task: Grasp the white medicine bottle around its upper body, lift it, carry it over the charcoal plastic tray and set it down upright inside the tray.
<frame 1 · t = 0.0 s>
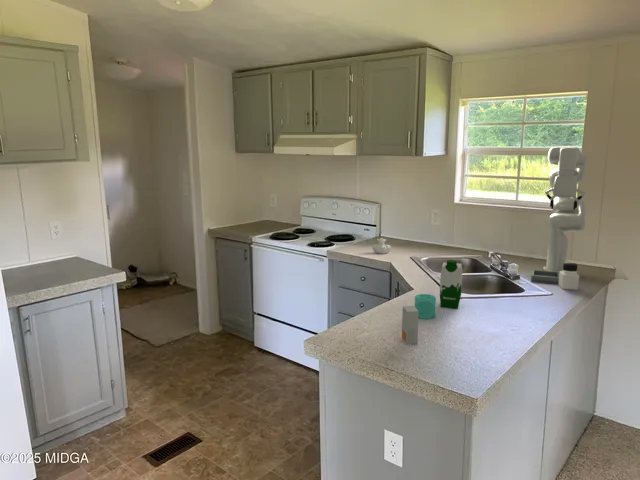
hand: (563, 208, 236), 37 cm above the worktop, tool pointing down, fingers open, 9 cm apart
medicine bottle: (568, 287, 233), on the worktop
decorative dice: (424, 316, 195), on the worktop
tray: (545, 279, 247), on the worktop
skincare box: (409, 341, 169), on the worktop
milk carton: (449, 306, 207), on the worktop
white lobed vase: (381, 253, 308), on the worktop
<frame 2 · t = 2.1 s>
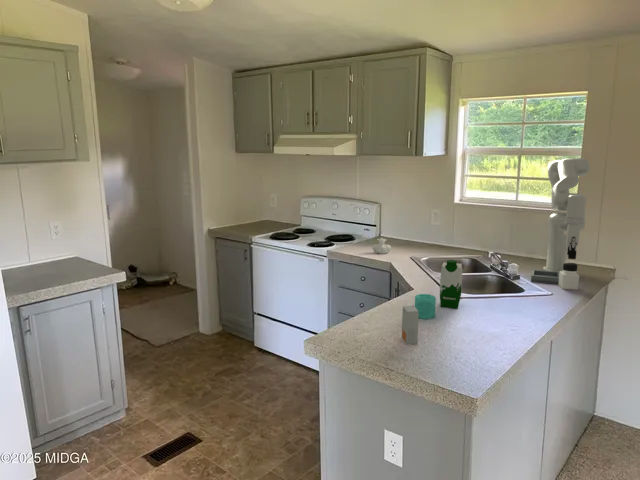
hand: (571, 257, 230), 15 cm above the worktop, tool pointing down, fingers open, 9 cm apart
nothing on the worktop moved.
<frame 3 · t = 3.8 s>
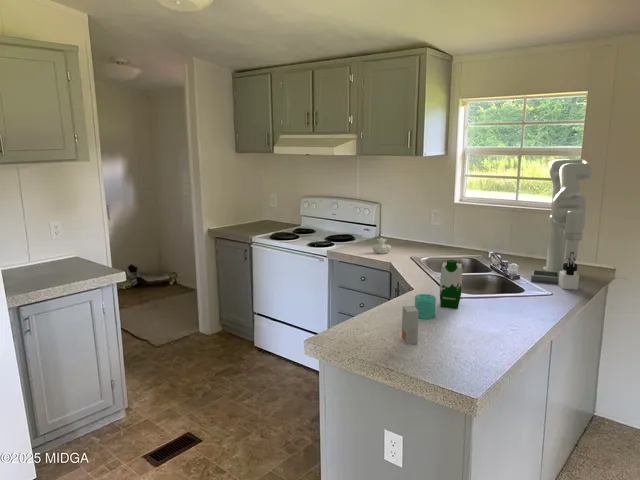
hand: (569, 272, 232), 7 cm above the worktop, tool pointing down, fingers closed on medicine bottle, 7 cm apart
medicine bottle: (568, 287, 233), on the worktop, touching gripper
everything else where it was.
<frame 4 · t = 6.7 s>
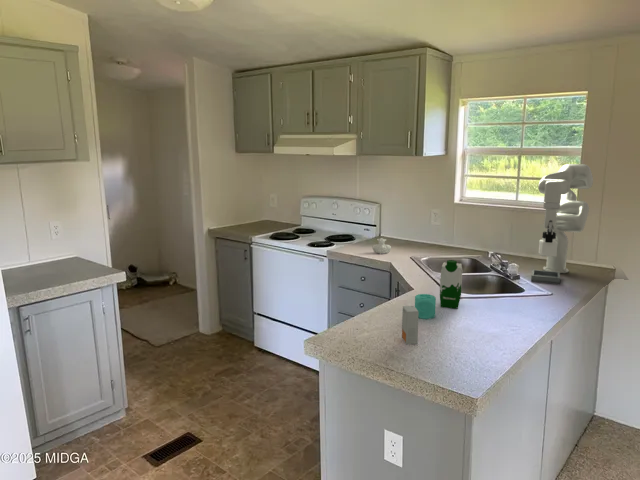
hand: (548, 240, 243), 20 cm above the worktop, tool pointing down, fingers closed on medicine bottle, 7 cm apart
medicine bottle: (547, 255, 245), point 13 cm above the worktop, touching gripper
everything else where it was.
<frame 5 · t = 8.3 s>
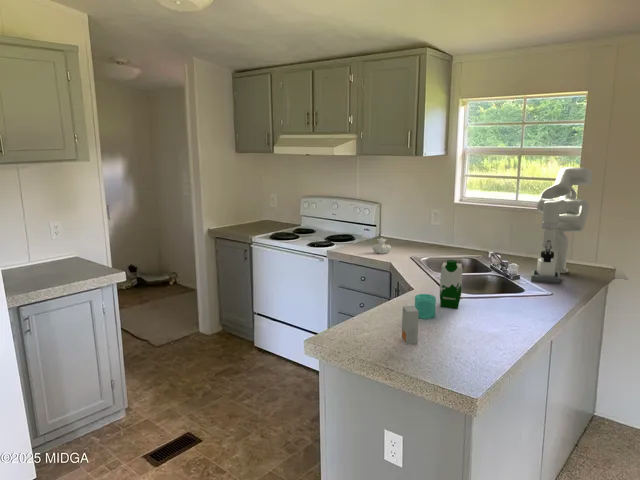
hand: (547, 260, 245), 10 cm above the worktop, tool pointing down, fingers closed on medicine bottle, 7 cm apart
medicine bottle: (545, 274, 247), point 3 cm above the worktop, touching gripper
everything else where it was.
when the fingers open (10 cm above the worktop, at t = 9.4 s): medicine bottle drops 1 cm, resting on tray.
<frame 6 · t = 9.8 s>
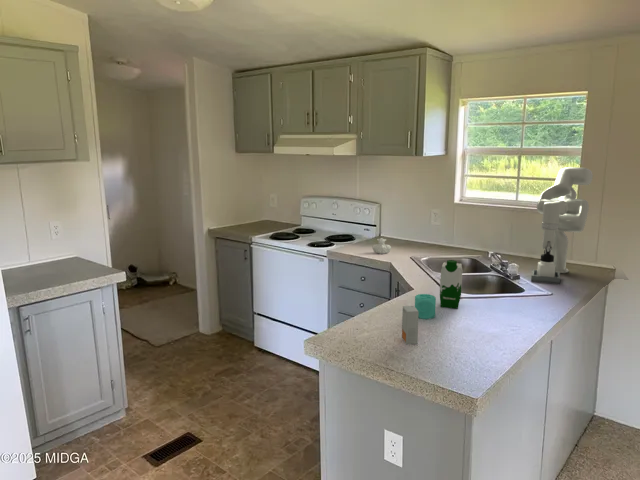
hand: (547, 259, 245), 10 cm above the worktop, tool pointing down, fingers open, 9 cm apart
medicine bottle: (545, 277, 247), point 1 cm above the worktop, touching tray
everything else where it was.
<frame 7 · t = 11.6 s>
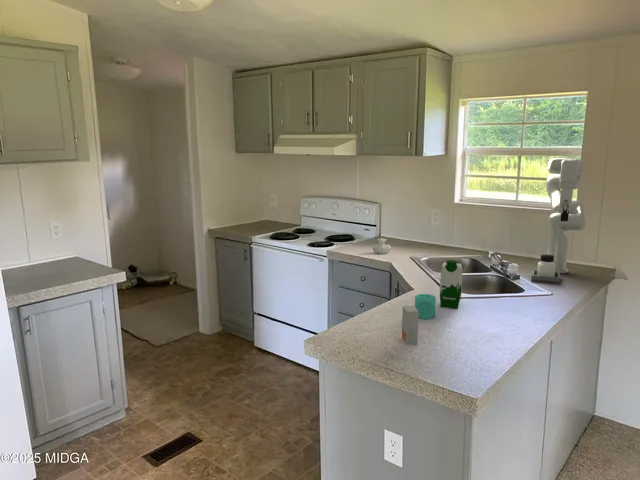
hand: (564, 219, 240), 31 cm above the worktop, tool pointing down, fingers open, 9 cm apart
nothing on the worktop moved.
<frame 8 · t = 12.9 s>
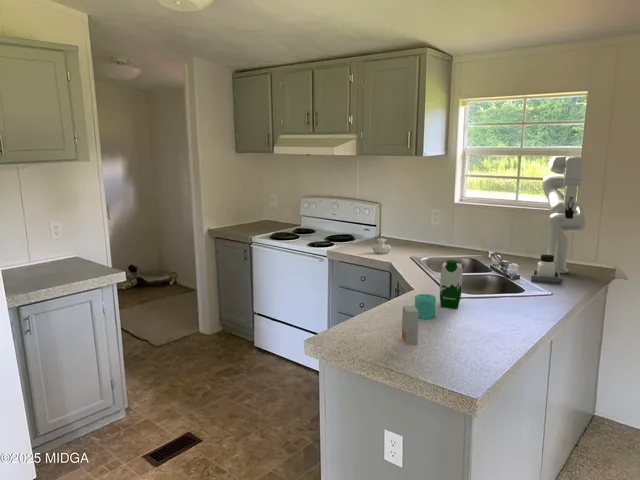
hand: (568, 217, 239), 32 cm above the worktop, tool pointing down, fingers open, 9 cm apart
nothing on the worktop moved.
at the end: medicine bottle 0.2 cm from the tray (horizontally); medicine bottle tilted 0°; medicine bottle point 0.8 cm above the worktop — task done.
